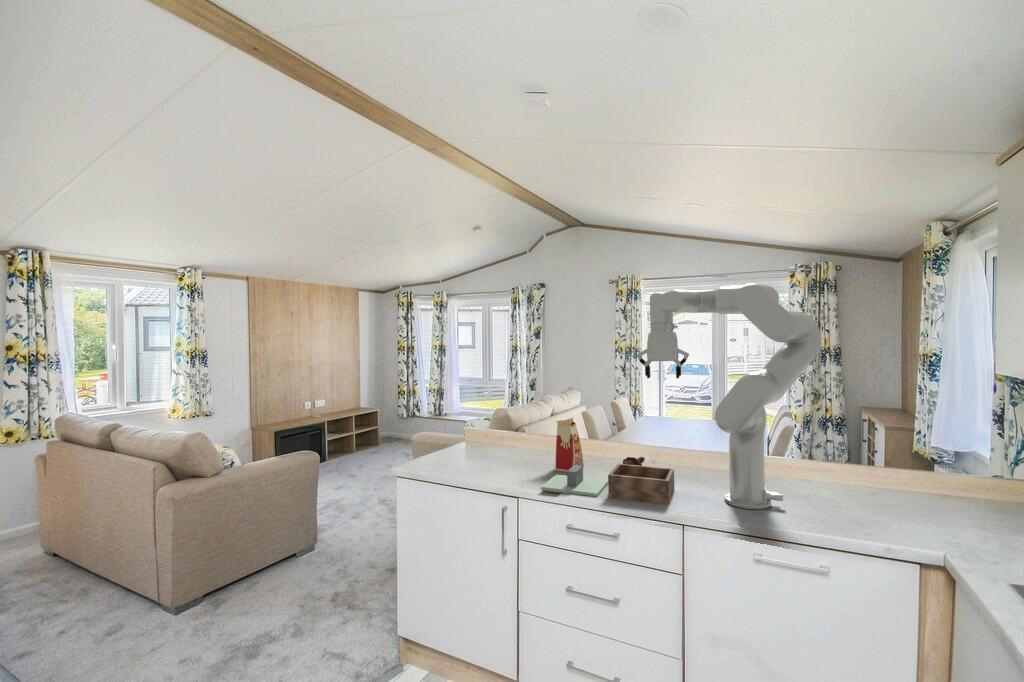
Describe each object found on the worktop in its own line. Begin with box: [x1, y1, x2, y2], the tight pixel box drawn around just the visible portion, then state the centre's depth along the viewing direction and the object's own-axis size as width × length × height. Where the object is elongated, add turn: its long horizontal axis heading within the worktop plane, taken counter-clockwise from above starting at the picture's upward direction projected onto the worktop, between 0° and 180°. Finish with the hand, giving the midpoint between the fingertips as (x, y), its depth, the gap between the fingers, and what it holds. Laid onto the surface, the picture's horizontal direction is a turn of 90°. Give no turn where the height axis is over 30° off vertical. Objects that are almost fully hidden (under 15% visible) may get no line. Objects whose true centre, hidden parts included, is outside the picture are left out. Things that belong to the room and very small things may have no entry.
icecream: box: [622, 456, 646, 466], centre depth 175 cm, size 7×7×15 cm
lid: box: [540, 465, 608, 498], centre depth 160 cm, size 19×15×7 cm
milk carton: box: [554, 417, 585, 473], centre depth 185 cm, size 9×9×20 cm
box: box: [607, 463, 675, 506], centre depth 151 cm, size 18×14×8 cm
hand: (663, 378), depth 165 cm, fingers open, 9 cm apart
